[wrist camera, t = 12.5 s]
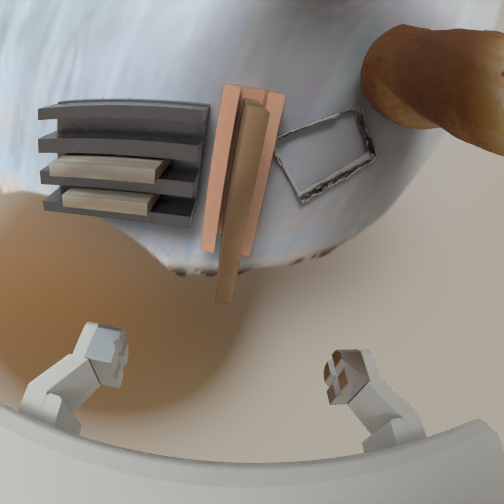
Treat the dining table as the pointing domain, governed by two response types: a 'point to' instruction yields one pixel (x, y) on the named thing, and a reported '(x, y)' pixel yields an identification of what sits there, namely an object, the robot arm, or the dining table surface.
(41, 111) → the rack
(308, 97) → the dining table surface
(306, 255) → the dining table surface
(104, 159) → the offcut
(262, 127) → the tall sheet
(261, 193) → the holder
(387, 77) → the butternut squash
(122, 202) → the offcut
